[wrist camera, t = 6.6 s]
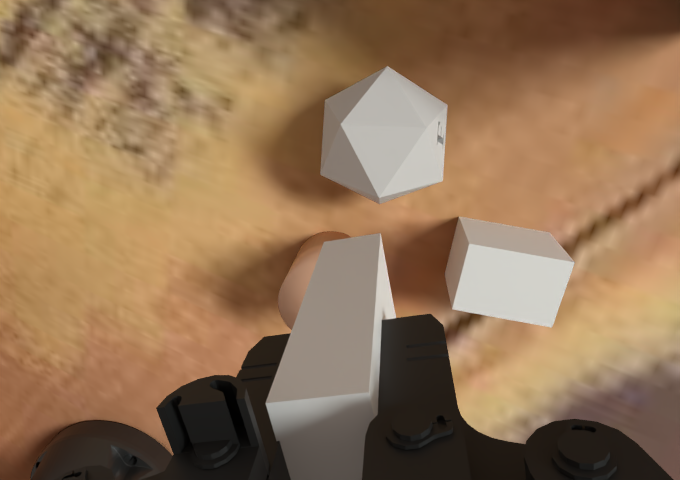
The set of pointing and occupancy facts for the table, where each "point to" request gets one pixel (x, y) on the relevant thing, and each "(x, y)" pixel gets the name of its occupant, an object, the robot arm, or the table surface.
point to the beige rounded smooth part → (302, 275)
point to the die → (384, 137)
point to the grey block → (506, 272)
